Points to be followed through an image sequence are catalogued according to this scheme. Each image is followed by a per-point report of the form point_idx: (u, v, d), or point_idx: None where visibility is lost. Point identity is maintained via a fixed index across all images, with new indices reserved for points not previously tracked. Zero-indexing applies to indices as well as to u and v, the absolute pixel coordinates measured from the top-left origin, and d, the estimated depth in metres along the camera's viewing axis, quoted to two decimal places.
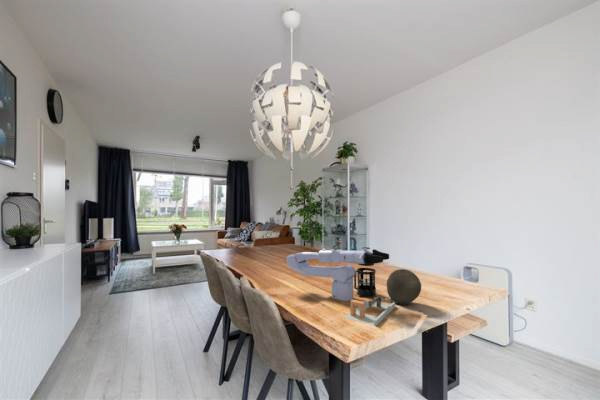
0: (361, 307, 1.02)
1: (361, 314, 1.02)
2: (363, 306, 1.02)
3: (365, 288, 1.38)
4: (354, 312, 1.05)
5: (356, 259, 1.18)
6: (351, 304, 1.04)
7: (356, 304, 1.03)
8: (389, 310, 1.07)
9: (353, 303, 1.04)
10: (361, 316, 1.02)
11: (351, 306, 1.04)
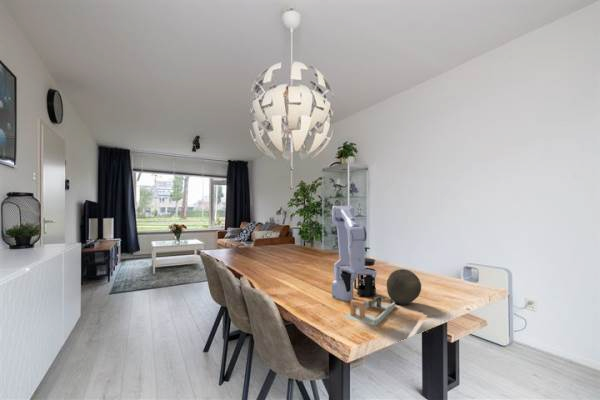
0: (361, 307, 1.02)
1: (361, 314, 1.02)
2: (363, 306, 1.02)
3: None
4: (354, 312, 1.05)
5: None
6: (351, 304, 1.04)
7: (356, 304, 1.03)
8: (389, 310, 1.07)
9: (353, 303, 1.04)
10: (361, 316, 1.02)
11: (351, 306, 1.04)
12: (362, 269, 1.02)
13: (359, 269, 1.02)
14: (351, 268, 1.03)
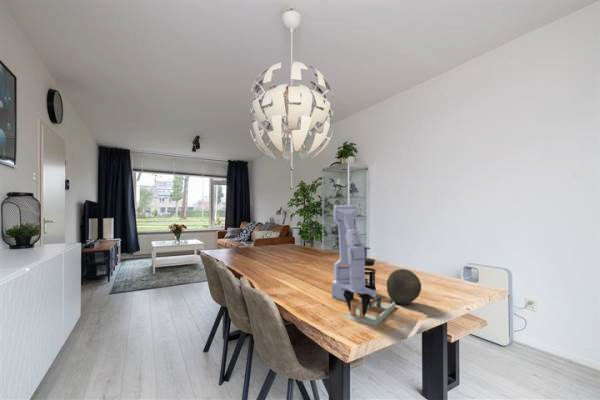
0: (361, 307, 1.02)
1: (361, 314, 1.02)
2: None
3: None
4: (354, 312, 1.05)
5: None
6: (351, 304, 1.04)
7: (356, 304, 1.03)
8: (389, 310, 1.07)
9: (353, 303, 1.04)
10: (361, 316, 1.02)
11: (351, 306, 1.04)
12: (362, 288, 1.02)
13: (359, 289, 1.01)
14: (351, 287, 1.03)
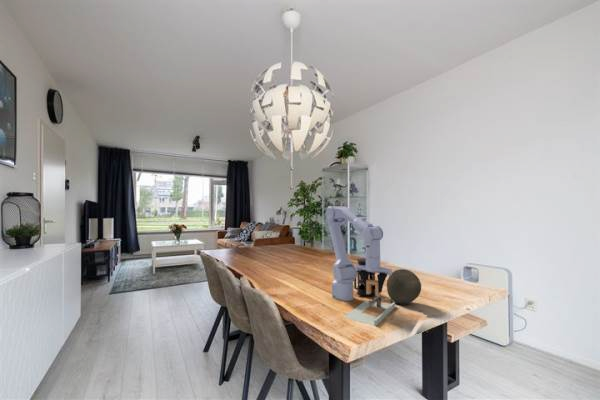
0: (377, 285, 1.06)
1: (377, 292, 1.06)
2: None
3: None
4: (370, 291, 1.09)
5: None
6: (367, 283, 1.08)
7: (372, 283, 1.07)
8: (389, 310, 1.07)
9: (369, 282, 1.08)
10: (377, 294, 1.06)
11: (367, 285, 1.08)
12: (378, 267, 1.06)
13: (375, 267, 1.06)
14: (367, 266, 1.07)
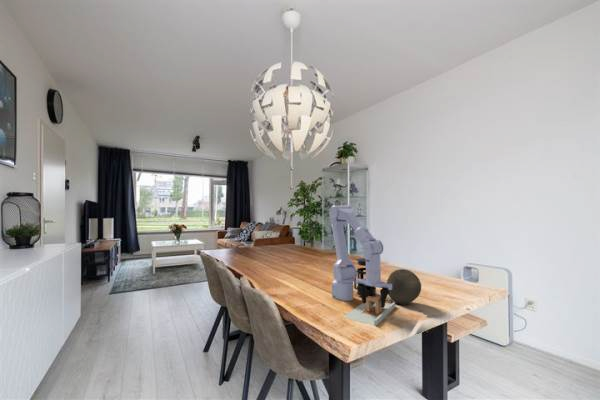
0: (377, 303, 1.06)
1: (377, 310, 1.06)
2: (379, 302, 1.06)
3: None
4: (370, 308, 1.09)
5: None
6: (367, 300, 1.08)
7: (372, 300, 1.07)
8: (389, 310, 1.07)
9: (369, 299, 1.08)
10: (377, 312, 1.06)
11: (367, 302, 1.08)
12: (378, 282, 1.06)
13: (375, 282, 1.06)
14: (367, 281, 1.07)
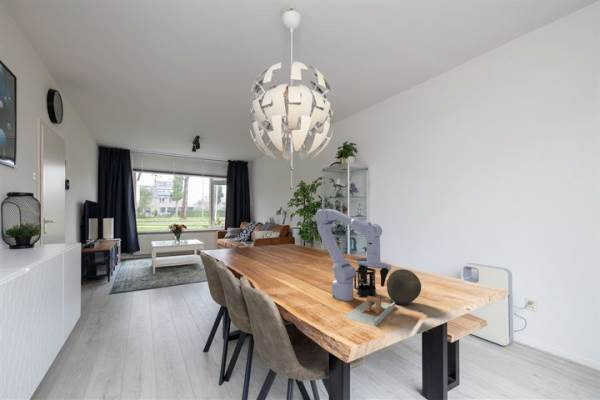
0: (377, 303, 1.06)
1: (377, 310, 1.06)
2: (379, 302, 1.06)
3: (365, 288, 1.38)
4: (370, 308, 1.09)
5: None
6: (367, 300, 1.08)
7: (372, 300, 1.07)
8: (389, 310, 1.07)
9: (369, 299, 1.08)
10: (377, 312, 1.06)
11: (367, 302, 1.08)
12: (378, 263, 1.13)
13: (375, 263, 1.13)
14: (368, 262, 1.14)
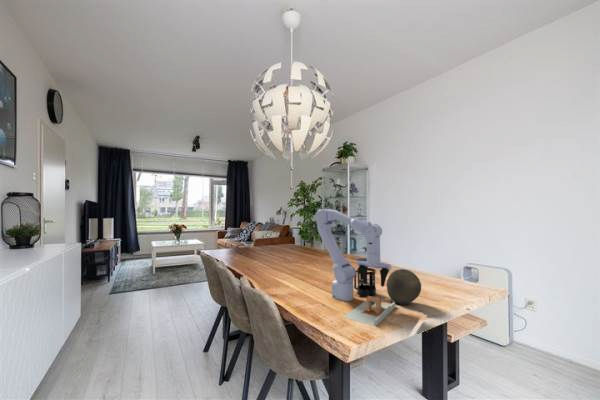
0: (377, 303, 1.06)
1: (377, 310, 1.06)
2: (379, 302, 1.06)
3: (365, 288, 1.38)
4: (370, 308, 1.09)
5: None
6: (367, 300, 1.08)
7: (372, 300, 1.07)
8: (389, 310, 1.07)
9: (369, 299, 1.08)
10: (377, 312, 1.06)
11: (367, 302, 1.08)
12: (378, 263, 1.13)
13: (376, 263, 1.13)
14: (368, 262, 1.14)
